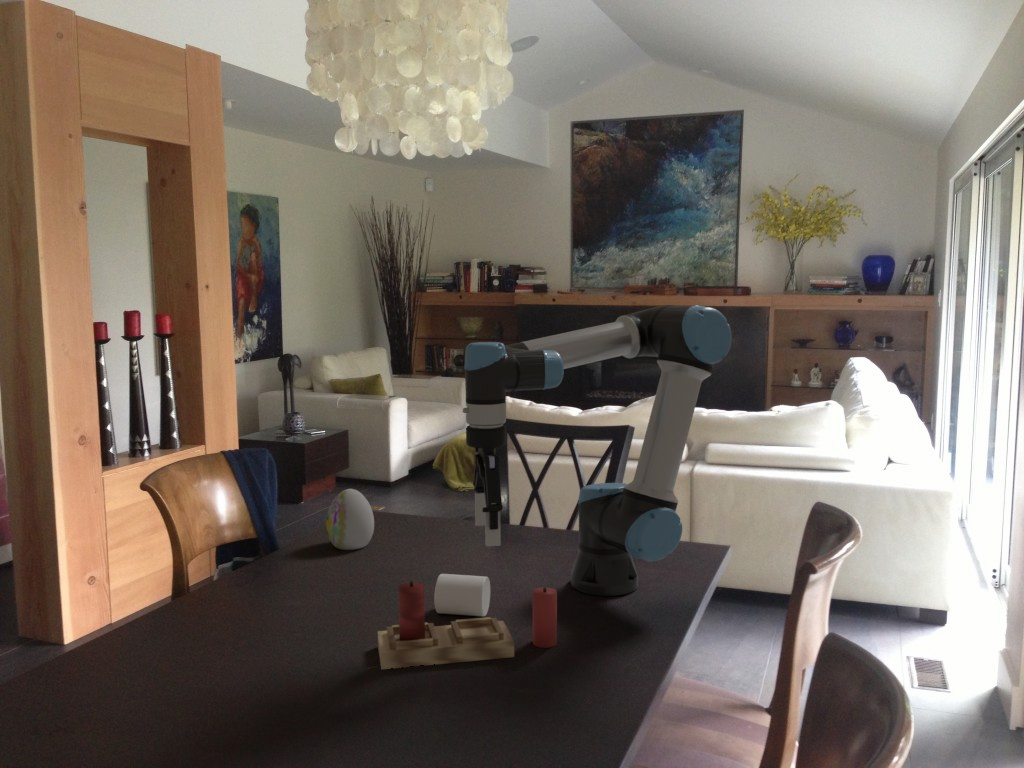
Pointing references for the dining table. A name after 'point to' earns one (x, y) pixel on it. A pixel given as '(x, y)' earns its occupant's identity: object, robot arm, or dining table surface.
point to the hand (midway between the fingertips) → (487, 535)
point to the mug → (462, 595)
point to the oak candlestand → (439, 636)
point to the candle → (544, 617)
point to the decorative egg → (350, 521)
